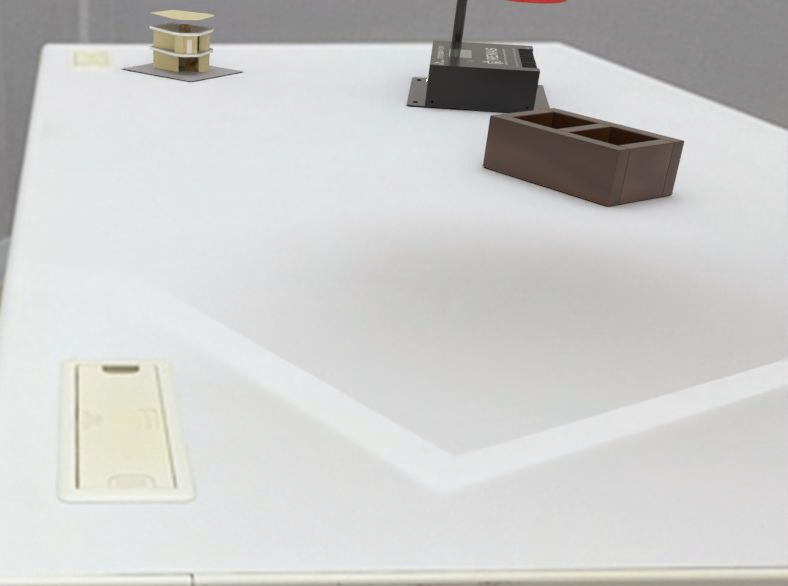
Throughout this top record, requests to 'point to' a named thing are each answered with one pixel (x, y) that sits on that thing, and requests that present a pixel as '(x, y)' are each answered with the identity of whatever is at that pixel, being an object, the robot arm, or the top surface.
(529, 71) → the wireless controller
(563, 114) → the brown divided tray
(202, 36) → the stacked layers on plate
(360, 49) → the top surface
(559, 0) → the peg
